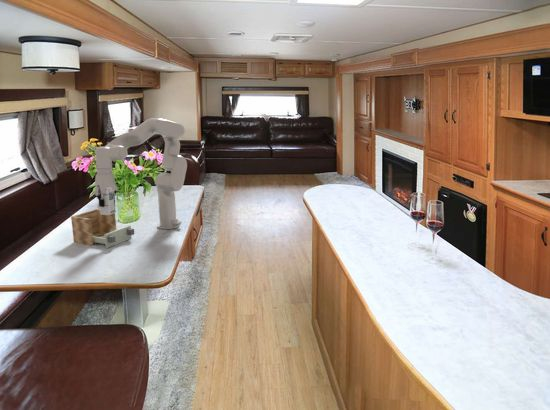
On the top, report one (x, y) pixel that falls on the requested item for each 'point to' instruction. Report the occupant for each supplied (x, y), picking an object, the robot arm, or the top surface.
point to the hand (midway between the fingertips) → (107, 204)
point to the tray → (115, 236)
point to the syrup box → (108, 202)
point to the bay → (91, 226)
